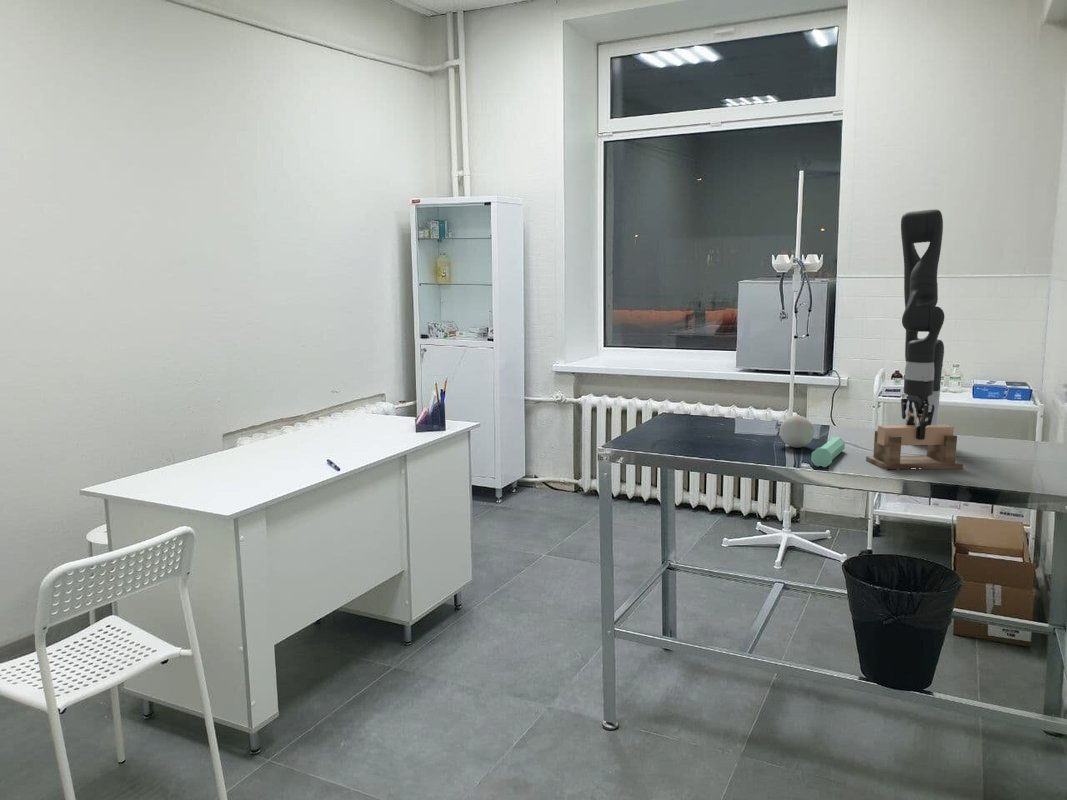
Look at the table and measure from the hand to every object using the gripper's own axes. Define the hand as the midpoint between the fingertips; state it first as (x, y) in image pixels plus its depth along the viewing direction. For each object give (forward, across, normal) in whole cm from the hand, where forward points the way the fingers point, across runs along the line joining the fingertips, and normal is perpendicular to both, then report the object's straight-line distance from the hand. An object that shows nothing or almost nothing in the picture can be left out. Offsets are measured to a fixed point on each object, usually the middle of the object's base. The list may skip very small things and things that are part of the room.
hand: (915, 437), depth 237 cm
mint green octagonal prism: (+8, -10, -20) cm, 24 cm away
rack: (+8, 0, 0) cm, 8 cm away
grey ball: (+8, -26, -24) cm, 36 cm away
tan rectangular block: (+2, 0, 0) cm, 2 cm away
